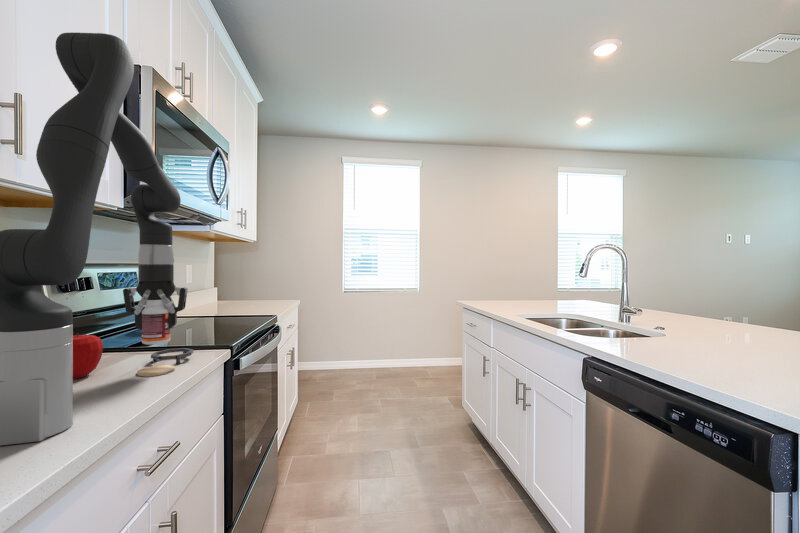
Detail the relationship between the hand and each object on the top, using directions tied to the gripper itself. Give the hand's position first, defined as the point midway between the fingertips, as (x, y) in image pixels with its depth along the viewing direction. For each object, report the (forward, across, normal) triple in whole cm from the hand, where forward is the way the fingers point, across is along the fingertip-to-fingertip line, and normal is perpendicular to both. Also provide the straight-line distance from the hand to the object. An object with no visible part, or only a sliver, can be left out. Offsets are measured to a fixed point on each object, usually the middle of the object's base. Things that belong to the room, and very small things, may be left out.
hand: (156, 328), depth 94 cm
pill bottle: (+4, 0, 0) cm, 4 cm away
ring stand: (+11, +1, +11) cm, 16 cm away
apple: (+11, -17, +1) cm, 21 cm away
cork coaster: (+11, 0, 0) cm, 11 cm away
